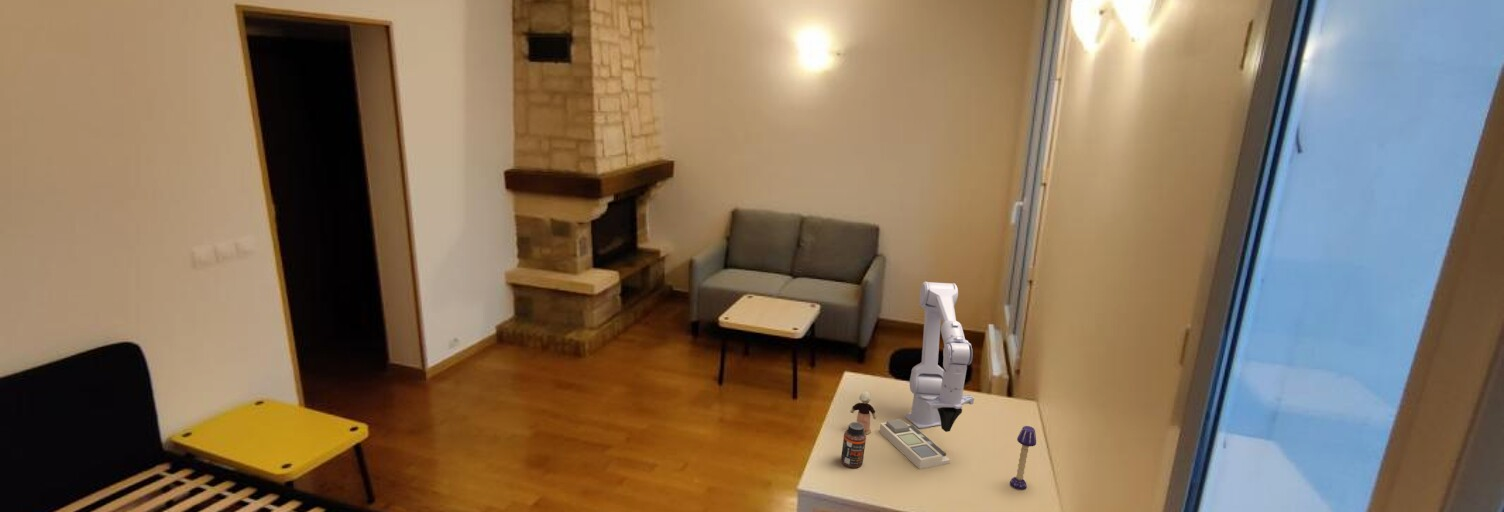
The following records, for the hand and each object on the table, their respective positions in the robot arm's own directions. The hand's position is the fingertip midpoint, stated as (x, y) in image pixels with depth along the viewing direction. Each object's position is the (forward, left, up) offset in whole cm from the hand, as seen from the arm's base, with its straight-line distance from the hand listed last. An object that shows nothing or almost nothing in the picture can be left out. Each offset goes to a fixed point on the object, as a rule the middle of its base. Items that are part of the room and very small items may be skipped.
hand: (945, 429), depth 193 cm
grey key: (+5, -14, -7) cm, 17 cm away
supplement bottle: (+25, -6, -10) cm, 27 cm away
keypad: (+4, -8, -9) cm, 13 cm away
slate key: (+5, -2, -8) cm, 10 cm away
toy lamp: (-13, +16, -10) cm, 23 cm away
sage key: (+5, -8, -8) cm, 12 cm away
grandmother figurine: (+14, -20, -10) cm, 26 cm away
